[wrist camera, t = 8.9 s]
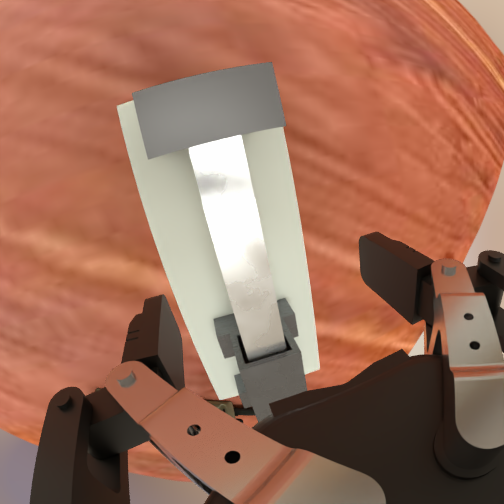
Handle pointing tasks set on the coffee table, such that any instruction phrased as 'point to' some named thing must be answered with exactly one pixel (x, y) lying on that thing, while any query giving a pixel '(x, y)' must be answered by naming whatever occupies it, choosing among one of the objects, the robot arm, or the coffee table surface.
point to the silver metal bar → (239, 243)
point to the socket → (208, 108)
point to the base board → (202, 247)
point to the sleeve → (264, 364)
